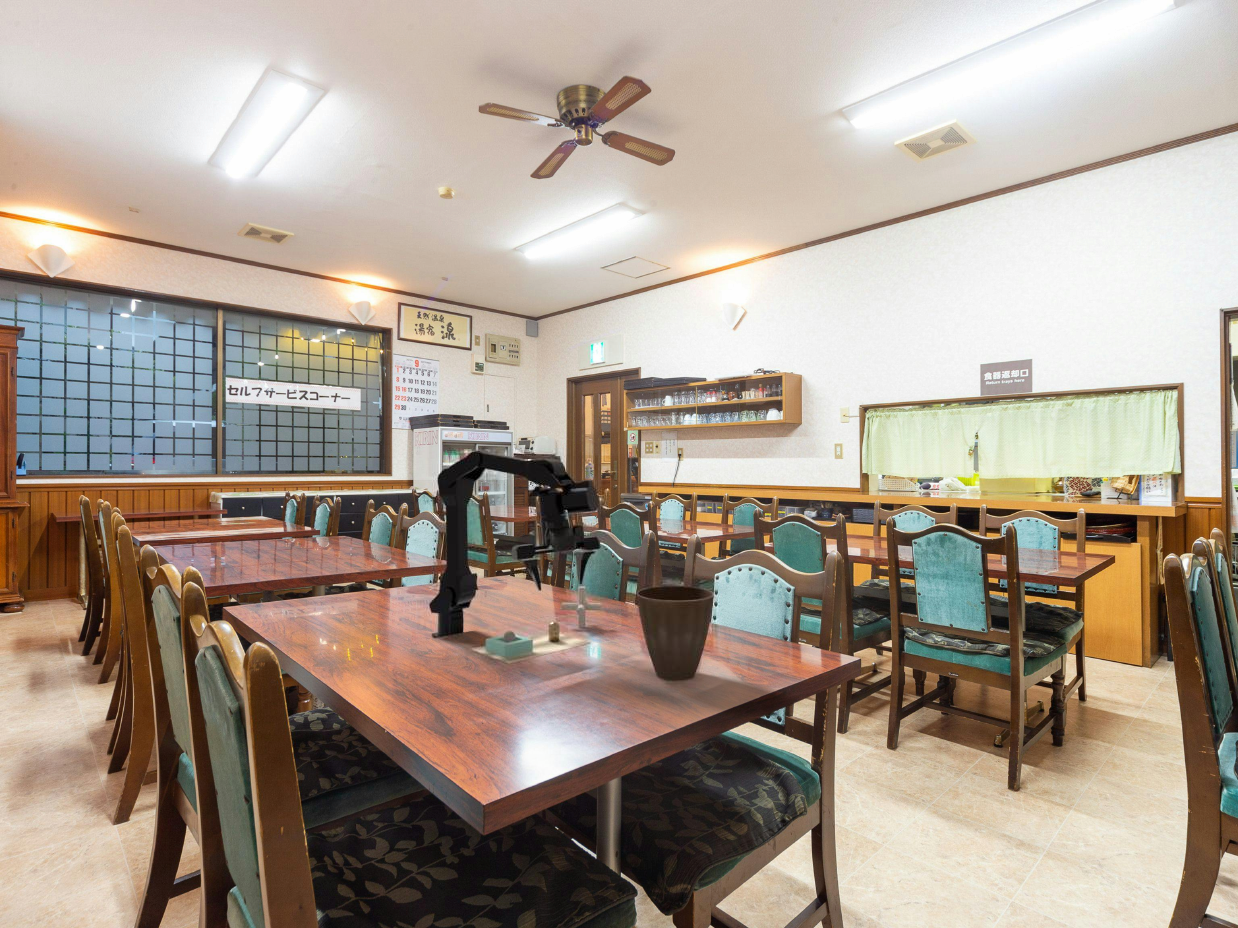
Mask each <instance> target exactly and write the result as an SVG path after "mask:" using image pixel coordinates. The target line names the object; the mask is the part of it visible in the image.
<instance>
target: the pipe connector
mask: <svg viewBox="0 0 1238 928" xmlns="http://www.w3.org/2000/svg"><path fill="white" fill-rule="evenodd" d="M577 588H578V589H577V591H578V595H577V596H578V597H577V599H578V600H577V601H578V602H562V603H561V611H576V613H577V615H578V616H577V619H578V620H577V622H578V623H577V627H578V628H586V611H602V608H603V604H602V602H600V603H599V602H598V603H597V602H587V600H586V591H587V590H586V586H578V587H577Z"/></svg>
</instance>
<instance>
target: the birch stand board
mask: <svg viewBox="0 0 1238 928" xmlns="http://www.w3.org/2000/svg"><path fill="white" fill-rule="evenodd" d="M515 634H516V633H515V632H513V631H512V630H508V631H506V632H504V634H503V635H504V642H506V643H508V642H513V641H515ZM526 637H527V638H530V639H533V651H532V652H528V653H524V654H520V655H515V656H511V657H507V658H503V657H501V656H498V655H495V654H493V653H490V652H487V651H486V645H482V646H477V647H473V648H471V650H472V651H475V652H478V653H480V654H482V655H485V656H488V657H490V658H493V659H495V660H498V661H501V662H503V663H506V664H512V663H517V662H521V661H524V660H529V659H533V658H536V657H537V658H538V657H540V656H541V657H542V656H545V655H550V654H553V653H557V652H561V651H567V650H569V649H574V648H578V647H581V646H586V645H589V644H592V642H590V641H588V640H587V641H586V640H583V639H580V638H576V637H573V636H570V635H566V634H563V633H560V632H559V641H558V642H549V631H547V632H541V633H537V634H532V635H528V636H526Z"/></svg>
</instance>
